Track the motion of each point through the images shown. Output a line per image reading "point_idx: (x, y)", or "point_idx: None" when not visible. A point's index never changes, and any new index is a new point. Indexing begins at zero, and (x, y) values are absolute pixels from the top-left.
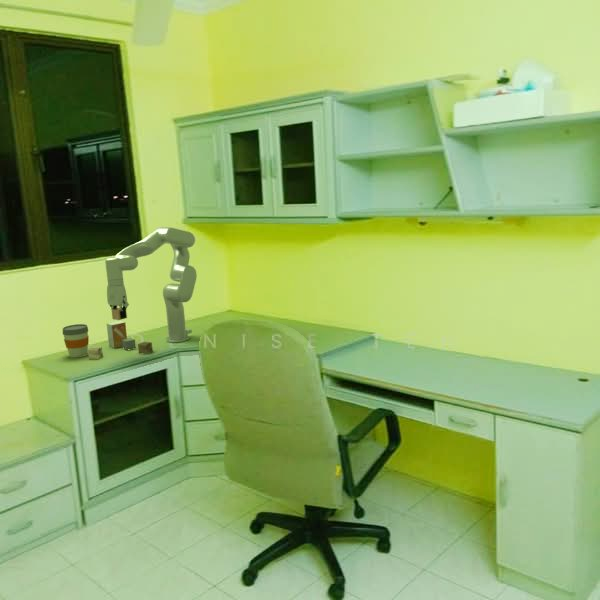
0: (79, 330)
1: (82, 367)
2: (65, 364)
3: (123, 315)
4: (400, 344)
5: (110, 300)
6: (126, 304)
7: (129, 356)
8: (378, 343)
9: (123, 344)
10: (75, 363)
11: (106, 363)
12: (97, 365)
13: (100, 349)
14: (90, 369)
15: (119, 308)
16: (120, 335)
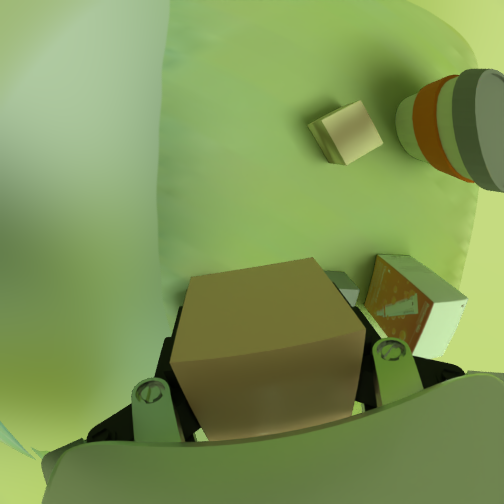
0: (467, 103)
1: (250, 29)
2: (350, 26)
3: (165, 349)
4: (10, 445)
5: (448, 490)
6: (46, 467)
7: (216, 228)
8: (19, 447)
9: (342, 280)
10: (330, 46)
11: (209, 109)
12: (218, 73)
13: (335, 150)
14: (192, 35)
15: (293, 419)
16: (391, 306)
